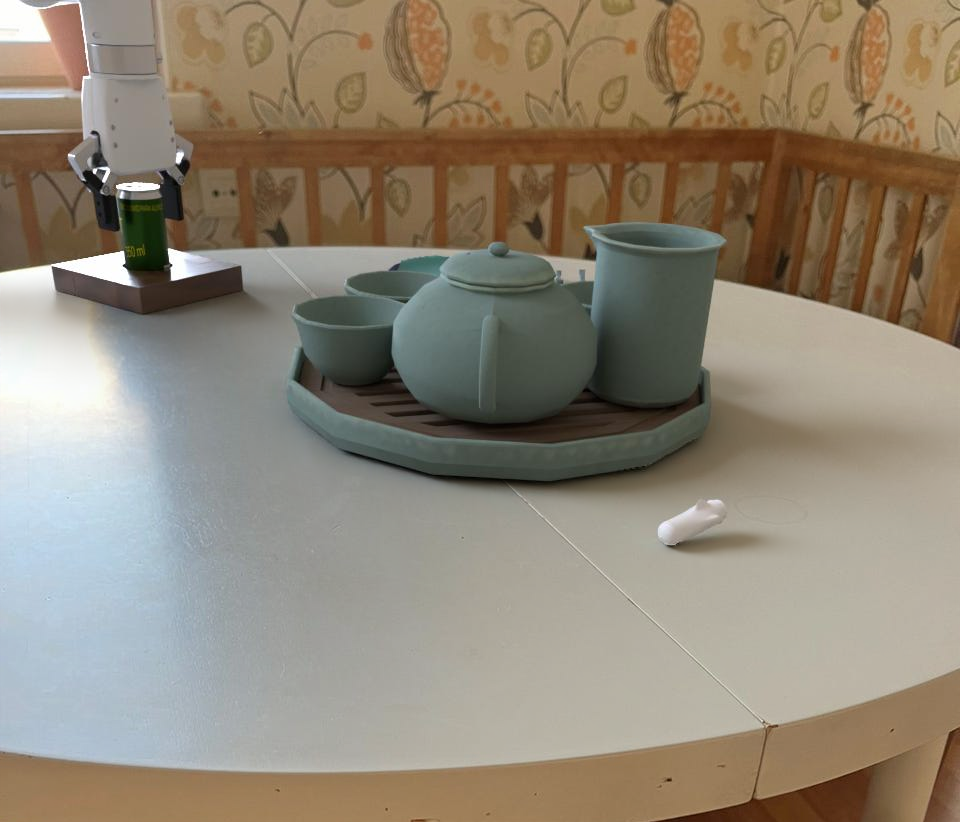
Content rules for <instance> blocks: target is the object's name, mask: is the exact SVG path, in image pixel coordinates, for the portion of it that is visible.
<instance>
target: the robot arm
mask: <svg viewBox="0 0 960 822" xmlns="http://www.w3.org/2000/svg"><path fill="white" fill-rule="evenodd" d="M16 1H17V2H18V3H20V4H21V5H24V6H26V7H29V8H32V9H47V8H52V7H55V6H61V5H62V6H63V5H71V4H79V10H80V16H81V23H82V31H83V39H84V46H85V53H86V54H85V55H86V60H87V67H88V75H86V76H82V86H81V87H82V88H81V122H82V123H81V124H82V135H83V136H82V137H83V141H81V142H80V143H79V144H78V145H76V146H75V147H74V149H72V150H71V151H70V152H68V154H67V160H68V162H69V163H70V165H71V167H72V169H73V170H74V172H75V173H76V177H77V179H78V180H79V181H80V182H81V183H82V184H83V185H84V186H85V187H86V189H87V191H88V192H89V193H91V194H92V196H93V203H94V212H95V218H96V221H97V225H98V228H99V229H100V230H105V231H109V232H113V233H117V232H120V222H119V215H118V207H117V200H116V194H112V190H113V189H114V186H115V184H116V182H117V180H118V177H119V176H131V175H139V174H140V175H141V174H148V173H157V175H158V176H159V177H160V178H161V180H162V181H163V182H159V186H160V192H161V193H162V195H163V204H164V213H165V219H167V220H173V221H177V222H182V221H184V219H185V215H184V205H183V196H182V195H183V194H182V186H183V185H185V183H186V178H185V177H186V175H187V173H188V172H189V170H190V167H191V163H190V162H191V159H192V156H193V152H194V144H193V143H192V142H191V141H190V140H188V139H186V138H184V137H183V136H181V135H179V134H178V133H176V132H175V126H174V121H173V115H172V109H171V105H170V100H169V96H168V93H167V89H166V85H165V82H164V78H163V77H162V76H160V73H159V65H158V64H161V63H162V62H163V54H162V52H161V51H160V50H157V45H156V36H155V35H156V34H155V27H154V25H155V24H154V18H153V9H152V8H153V7H152V0H16Z"/></svg>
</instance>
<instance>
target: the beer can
mask: <svg viewBox="0 0 960 822" xmlns="http://www.w3.org/2000/svg"><path fill="white" fill-rule="evenodd" d="M115 196H116V200H117V207H118V215H119V222H120V230H119V232H120V237H121V245H122V252H123V254H124V261H125V269H128V270H134V271H158V270H164V269H169V268H171V267H170V258H169V249H170V248H169V242H168V234H167V233H168V232H167V223H166V218H165V213H164V204H163V195H162V193H161V192H160V185H158V184H154V183H145V182H144V183H143V182H132V183H122V184H118V185H116V194H115Z"/></svg>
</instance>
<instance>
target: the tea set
mask: <svg viewBox="0 0 960 822" xmlns="http://www.w3.org/2000/svg"><path fill="white" fill-rule="evenodd" d="M582 228H583V229H584V231H585V233H586V234H587V236H588V237H589V238H590V240H591V241H592V243H593V245H594V246H593V247H594V248H595V251H596V257H595V269H594V280H585V281H580V280H578V281H573V282H565V283H563V284H561V285H559V284H558V282H559V280H558V279H557V276H556V271H555V270H554V267H553V265H552V264H551V263H550V262H549V261H548V260H546V259H545V258H543V257H541V256H537V255H535V254H532V253H529V252H526V251H525V252H524V251H519V250H513V249H510V246H509V245H508V244H507V243H505V242H503V241H494V242H491V243H490V244H489V245H488V246H487V247H488V248H484V249H482V248H481V249H472V250H466V251H462V252H458V253H455V254H453V255H450V256H448V257H449V258H448V259H447V260H446V261H445V262H444V263H443V265H442V266H441V267H440V272H441V274H440V276H437V275H434V274H430V273H422V272H413V271H388V270H375V271H369V272H360V273H357V274H354V275H352V276H350V277H348V278H345V279H344V283H343V289H344V291H345V293H346V294H334V295H326V296H320V297H319V296H318V297H313V298H312V297H311V298H309V299H306V300H303V301H302V302H299V303H297V304H294V305H293V307H292V311H291V315H290V317H291V318H292V320H293V322H294V324H295V326H296V328H297V332H298V334H299V335H298V336H299V338H300V342H301V345H298V346H296V347H295V348H294V350H293V354H292V358H291V362H290V365H289V369H288V372H287V377H286V381H285V391H286V402H287V403H288V405H289V407H290V409H291V411H292V413H293V414H294V415H295V416H297V417H298V418H299V419H301V420H302V421H303V422H304V423H306V424H307V425H308V426H309V427H311V428H312V429H313V430H314V431H316V432H317V433H318V434H319V435H321V436H322V437H323V438H325V439H326V440H327V441H328V442H330V443H331V444H332V445H333V446H335V447H336V448H337V449H340V450H343V451H347V452H351V453H354V454H358V455H361V456H364V457H368V458H372V459H375V460H380V461H384V462H385V463H390V464H393V465H398V466H401V467H405V468H408V469H412V470H415V471H419V472H422V473H425V474H429V475H439V476H452V477H453V476H456V477H471V478H472V477H473V478H489V479H506V480H523V481H540V482H552V481H558V480H565V479H573V478H578V477H585V476H591V475H599V474H605V473H612V472H619V471H625V470H624V469H626V470H631V469H630V468H632V469H636V468H635V467H639V466H640V467H639V468H642V467H641V466H645V465H646V466H645V467H648V466H647V465H649V466H651V465H652V464H651V463H653V462H655V461H656V462H658V461H659V460H658V459H660V458H662V457H663V458H665V457H666V456H665V455H667V454H669V453H670V454H672V453H674V452H675V451H674V450H676V449H677V450H679V449H681V448H682V447H681V446H683V445H684V446H686V445H687V444H686V443H688V442H690V441H691V442H693V441H694V440H693V439H695V438H697V437H698V438H700V437H702V435H703V434H704V432H705V430H706V429H707V427H708V426H709V424H710V417H711V412H712V411H711V410H712V390H711V389H712V387H711V372H710V370H709V369H707V368H705V367H704V366H702V362H703V355H704V350H705V344H706V343H705V342H706V337H707V329H708V324H709V317H710V311H711V305H712V304H711V303H712V298H713V292H714V284H715V278H716V272H717V265H718V261H719V260H718V259H719V253H720V250H721V248H723V247H724V246H725V245H727V244H728V240H727V239H725V238H724V237H723V236H722V235H721V234H720V233H717V232H714V231H710V230H706V229H702V228H698V227H694V226H687V225H680V224H673V223H662V222H661V223H660V222H643V221H634V222H630V221H629V222H614V223H613V222H612V223H607V224H600V225H598V224H597V225H584V226H583V227H582ZM699 436H700V437H699ZM698 438H697V439H698ZM692 440H693V441H692ZM695 440H696V439H695ZM691 442H690V443H691ZM685 444H686V445H685ZM688 444H689V443H688ZM684 446H683V447H684ZM680 447H681V448H680ZM678 448H679V449H678ZM677 450H676V451H677ZM673 451H674V452H673ZM671 452H672V453H671ZM670 454H669V455H670ZM664 456H665V457H664ZM667 456H668V455H667ZM663 458H662V459H663ZM657 460H658V461H657ZM660 460H661V459H660ZM656 462H655V463H656ZM650 464H651V465H650ZM653 464H654V463H653ZM618 470H619V471H618Z"/></svg>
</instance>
